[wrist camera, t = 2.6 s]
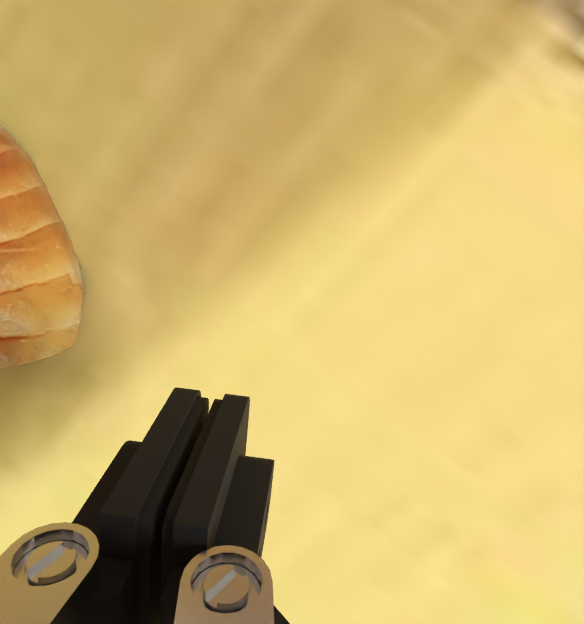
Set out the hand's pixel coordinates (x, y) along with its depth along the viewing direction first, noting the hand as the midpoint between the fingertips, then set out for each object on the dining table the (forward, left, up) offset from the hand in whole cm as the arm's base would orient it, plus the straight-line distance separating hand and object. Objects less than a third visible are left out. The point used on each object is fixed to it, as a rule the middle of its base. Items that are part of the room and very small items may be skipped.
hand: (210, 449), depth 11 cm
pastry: (0, -11, -11) cm, 15 cm away
